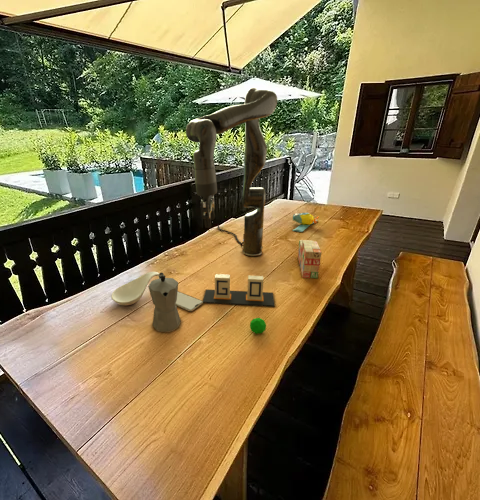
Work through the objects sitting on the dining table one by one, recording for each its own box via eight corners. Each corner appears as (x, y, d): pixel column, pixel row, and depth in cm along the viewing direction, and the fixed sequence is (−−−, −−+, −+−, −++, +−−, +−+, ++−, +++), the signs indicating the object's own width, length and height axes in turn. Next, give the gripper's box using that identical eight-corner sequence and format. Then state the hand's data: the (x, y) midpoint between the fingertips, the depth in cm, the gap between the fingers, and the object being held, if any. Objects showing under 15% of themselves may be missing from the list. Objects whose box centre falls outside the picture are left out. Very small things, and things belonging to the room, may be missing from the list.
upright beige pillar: (247, 295, 114) (248, 275, 111) (261, 295, 113) (263, 275, 110) (247, 299, 111) (248, 279, 108) (262, 300, 110) (263, 280, 107)
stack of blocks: (297, 257, 147) (299, 233, 142) (310, 258, 146) (313, 234, 141) (302, 277, 127) (305, 251, 123) (317, 278, 126) (321, 251, 121)
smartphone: (173, 289, 119) (203, 301, 110) (174, 291, 119) (203, 302, 111) (160, 297, 113) (191, 310, 105) (160, 299, 114) (191, 312, 105)
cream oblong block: (215, 293, 115) (215, 273, 112) (229, 294, 115) (230, 274, 111) (214, 298, 112) (214, 277, 109) (229, 298, 112) (229, 278, 109)
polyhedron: (254, 325, 98) (255, 312, 96) (268, 331, 95) (269, 318, 93) (246, 332, 94) (247, 320, 93) (260, 339, 91) (261, 326, 90)
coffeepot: (183, 334, 95) (180, 283, 88) (153, 338, 93) (148, 288, 86) (177, 307, 108) (174, 262, 101) (150, 311, 107) (146, 265, 100)
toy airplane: (309, 219, 174) (284, 216, 183) (308, 233, 177) (284, 229, 186) (325, 209, 194) (302, 206, 203) (323, 221, 197) (301, 218, 206)
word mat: (202, 303, 111) (202, 301, 110) (205, 290, 119) (205, 289, 119) (274, 306, 107) (274, 305, 107) (272, 293, 116) (272, 292, 115)
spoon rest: (125, 314, 105) (122, 296, 103) (106, 302, 112) (103, 285, 110) (173, 287, 122) (172, 271, 119) (154, 279, 129) (153, 264, 126)
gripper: (213, 185, 99) (217, 230, 106) (218, 175, 111) (222, 216, 119) (191, 186, 100) (196, 231, 108) (199, 176, 113) (203, 216, 120)
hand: (210, 223), depth 113 cm, fingers open, 8 cm apart
